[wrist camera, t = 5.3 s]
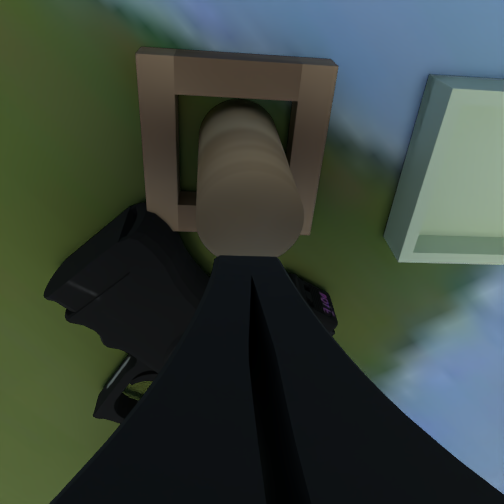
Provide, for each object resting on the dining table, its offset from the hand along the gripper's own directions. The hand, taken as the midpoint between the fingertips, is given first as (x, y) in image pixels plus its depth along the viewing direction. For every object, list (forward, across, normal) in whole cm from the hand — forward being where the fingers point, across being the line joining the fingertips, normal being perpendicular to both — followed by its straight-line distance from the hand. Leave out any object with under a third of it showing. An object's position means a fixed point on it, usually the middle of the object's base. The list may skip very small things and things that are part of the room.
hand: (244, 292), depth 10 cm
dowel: (+9, 0, 0) cm, 9 cm away
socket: (+9, 0, 0) cm, 9 cm away
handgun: (+9, +5, +13) cm, 16 cm away
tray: (+9, -10, 0) cm, 14 cm away
